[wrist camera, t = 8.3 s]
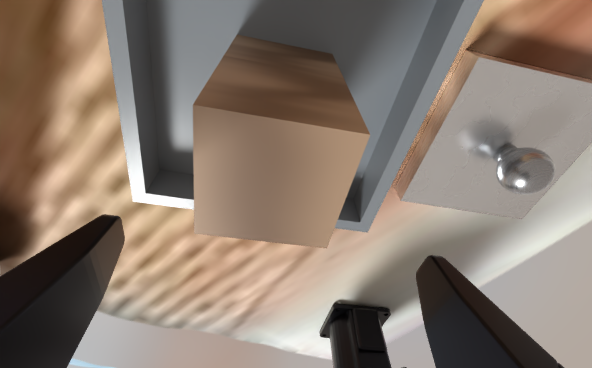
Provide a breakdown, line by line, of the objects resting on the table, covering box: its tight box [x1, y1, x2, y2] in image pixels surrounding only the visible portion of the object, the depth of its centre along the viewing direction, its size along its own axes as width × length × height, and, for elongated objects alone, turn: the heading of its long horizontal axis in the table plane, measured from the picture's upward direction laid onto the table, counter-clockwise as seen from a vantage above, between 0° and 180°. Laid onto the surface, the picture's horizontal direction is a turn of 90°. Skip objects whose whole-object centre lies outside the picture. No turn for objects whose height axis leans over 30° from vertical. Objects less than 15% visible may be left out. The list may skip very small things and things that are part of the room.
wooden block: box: [193, 35, 370, 248], centre depth 13 cm, size 5×5×9 cm
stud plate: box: [395, 50, 592, 219], centre depth 19 cm, size 10×10×5 cm
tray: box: [102, 0, 484, 232], centre depth 16 cm, size 15×15×4 cm
